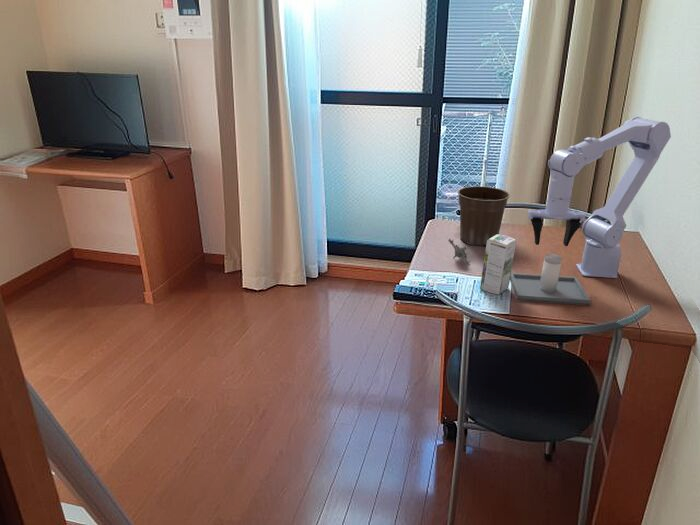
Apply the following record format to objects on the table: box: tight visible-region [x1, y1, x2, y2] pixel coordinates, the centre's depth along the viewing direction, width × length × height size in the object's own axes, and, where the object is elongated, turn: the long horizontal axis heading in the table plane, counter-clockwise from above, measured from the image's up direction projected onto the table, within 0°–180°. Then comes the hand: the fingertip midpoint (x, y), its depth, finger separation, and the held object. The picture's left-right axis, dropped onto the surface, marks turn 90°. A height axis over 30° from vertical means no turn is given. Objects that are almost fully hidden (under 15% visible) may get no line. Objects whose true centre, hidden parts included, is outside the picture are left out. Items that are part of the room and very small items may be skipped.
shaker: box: [539, 253, 563, 292], centre depth 143 cm, size 4×4×9 cm
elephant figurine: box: [448, 238, 471, 266], centre depth 162 cm, size 10×6×9 cm
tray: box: [509, 272, 591, 306], centre depth 144 cm, size 18×14×2 cm
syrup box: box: [479, 234, 517, 296], centre depth 142 cm, size 6×6×14 cm
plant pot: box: [457, 185, 511, 247], centre depth 176 cm, size 16×16×16 cm
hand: (551, 244), depth 148 cm, fingers open, 7 cm apart
